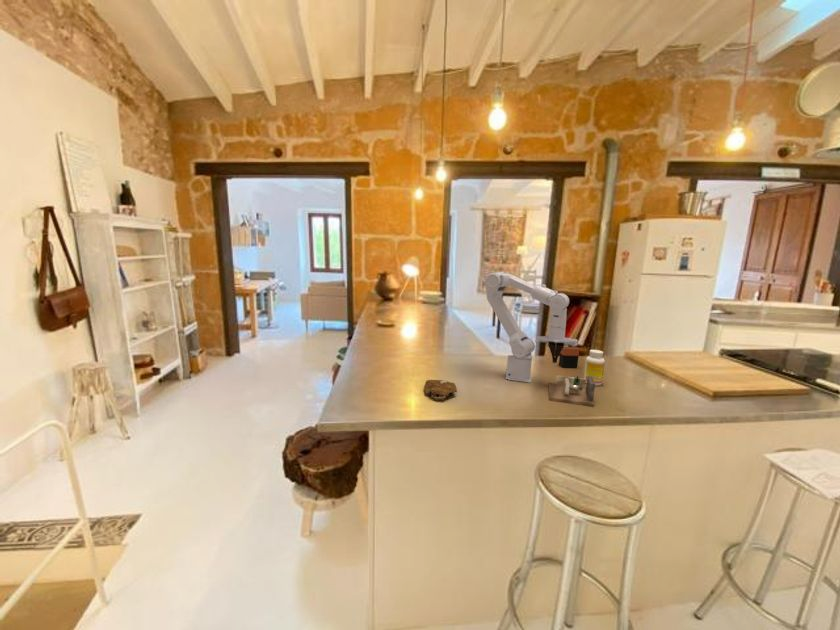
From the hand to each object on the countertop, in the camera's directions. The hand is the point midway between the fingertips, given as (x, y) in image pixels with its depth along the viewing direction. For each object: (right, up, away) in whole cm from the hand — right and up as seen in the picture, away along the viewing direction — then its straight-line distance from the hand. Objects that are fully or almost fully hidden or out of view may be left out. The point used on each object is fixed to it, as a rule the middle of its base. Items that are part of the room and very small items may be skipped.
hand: (554, 362), depth 141 cm
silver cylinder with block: (+4, -9, -7) cm, 12 cm away
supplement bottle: (+17, -9, +6) cm, 20 cm away
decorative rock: (-43, -10, -9) cm, 45 cm away
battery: (+15, -5, +26) cm, 30 cm away
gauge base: (+3, -11, -7) cm, 13 cm away
